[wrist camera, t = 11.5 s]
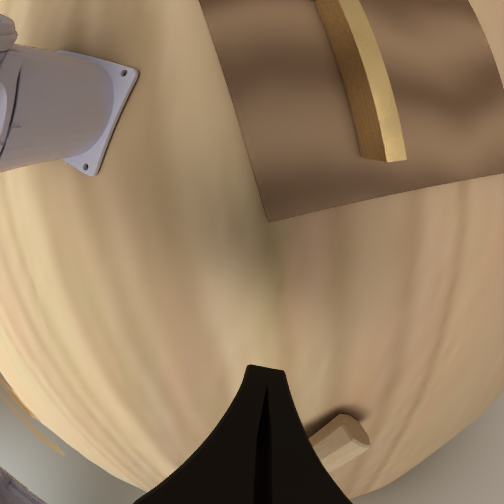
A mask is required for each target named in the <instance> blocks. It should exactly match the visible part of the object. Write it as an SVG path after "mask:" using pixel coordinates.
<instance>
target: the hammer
mask: <svg viewBox="0 0 504 504" xmlns="http://www.w3.org/2000/svg"><path fill="white" fill-rule="evenodd" d="M309 441H310V443H311V445H312V447H313V449H314V450H315V452H316V454H317V456H318V458H319V459H320V461H321V463H322V464H323V466H324V467H325V469H326V470H327V472H328V473H329V472H331V471H333V470H335V469H336V468H338V467H340V466H342V465H343V464H345V463H347V462H349V461H350V460H352V459H353V458H355V457H357V456H358V455H360V454H361V453H363V452H365V451H366V450H368V449H369V448H370V441H369V437H368V435H367V433H366V432H365V430H364V429H363V427H362V426H361V424H360V423H359V422H358V421H357V420H355V419H354V418H353V417H351V416H350V415H347V414H339V415H337V416H336V417H335V418H334V419H333V420H331V421H330V422H329V423H328V424H326V425H325V426H324V427H323V428H322V429H320V430H319V431H318V432H316V433H315V434H314V435H313V436H311V437H310V438H309Z"/></svg>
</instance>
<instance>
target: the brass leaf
mask: <svg viewBox="0 0 504 504" xmlns="http://www.w3.org/2000/svg"><path fill="white" fill-rule="evenodd" d="M315 5H316V7H317V10H318V12H319V15H320V17H321V19H322V22H323V24H324V27H325V30H326V32H327V35H328V38H329V40H330V43H331V46H332V49H333V52H334V55H335V58H336V61H337V64H338V67H339V70H340V73H341V76H342V80H343V83H344V87H345V90H346V94H347V97H348V101H349V105H350V109H351V113H352V117H353V121H354V125H355V129H356V134H357V138H358V143H359V148H360V153H361V158H367V159H372V160H377V161H382V162H394V161H401V160H407V157H406V151H405V145H404V140H403V135H402V130H401V125H400V120H399V116H398V111H397V107H396V103H395V99H394V95H393V92H392V88H391V84H390V81H389V77H388V74H387V71H386V68H385V65H384V62H383V59H382V56H381V53H380V50H379V47H378V44H377V42H376V39H375V36H374V34H373V31H372V29H371V26H370V24H369V21H368V19H367V17H366V14H365V12H364V10H363V8H362V6H361V3H360V1H359V0H316V1H315Z"/></svg>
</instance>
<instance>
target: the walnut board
mask: <svg viewBox="0 0 504 504" xmlns="http://www.w3.org/2000/svg"><path fill="white" fill-rule="evenodd" d="M359 1H360V3H361V6H362V8H363V10H364V12H365V14H366V17H367V19H368V21H369V24H370V26H371V29H372V31H373V34H374V36H375V39H376V42H377V44H378V47H379V50H380V53H381V56H382V59H383V62H384V65H385V68H386V71H387V74H388V77H389V81H390V84H391V88H392V92H393V95H394V99H395V103H396V107H397V111H398V116H399V120H400V125H401V130H402V135H403V140H404V145H405V151H406V157H407V160H401V161H394V162H382V161H377V160H372V159H367V158H361V153H360V148H359V143H358V138H357V134H356V129H355V125H354V121H353V117H352V113H351V109H350V105H349V101H348V97H347V94H346V90H345V87H344V83H343V80H342V76H341V73H340V70H339V67H338V64H337V61H336V58H335V55H334V52H333V49H332V46H331V43H330V40H329V38H328V35H327V32H326V30H325V27H324V24H323V22H322V19H321V17H320V15H319V12H318V10H317V7H316V5H315V1H311V0H199V2H200V5H201V8H202V11H203V13H204V16H205V19H206V22H207V25H208V28H209V31H210V34H211V37H212V40H213V43H214V46H215V49H216V52H217V55H218V58H219V61H220V64H221V67H222V70H223V74H224V77H225V80H226V83H227V86H228V89H229V92H230V96H231V99H232V102H233V105H234V108H235V112H236V115H237V118H238V121H239V125H240V128H241V131H242V135H243V138H244V141H245V145H246V148H247V151H248V155H249V158H250V161H251V165H252V168H253V172H254V175H255V179H256V182H257V185H258V189H259V192H260V196H261V199H262V203H263V206H264V210H265V214H266V217H267V221H268V222H272V221H277V220H281V219H285V218H289V217H293V216H298V215H302V214H306V213H310V212H315V211H319V210H323V209H328V208H332V207H337V206H341V205H345V204H350V203H355V202H359V201H364V200H368V199H373V198H378V197H382V196H387V195H392V194H397V193H401V192H406V191H411V190H416V189H421V188H426V187H431V186H436V185H441V184H447V183H452V182H457V181H462V180H468V179H473V178H479V177H485V176H490V175H496V174H502V173H504V89H503V85H502V82H501V78H500V75H499V72H498V69H497V66H496V63H495V60H494V57H493V54H492V52H491V49H490V46H489V44H488V41H487V39H486V37H485V34H484V32H483V30H482V27H481V25H480V23H479V21H478V19H477V17H476V15H475V13H474V11H473V9H472V7H471V5H470V3H469V1H468V0H359Z"/></svg>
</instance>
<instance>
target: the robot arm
mask: <svg viewBox="0 0 504 504" xmlns="http://www.w3.org/2000/svg"><path fill="white" fill-rule="evenodd" d="M17 36H18V34H17V31H16V30H15V23H14V21H13V20H12V19H10V18H8V17H6V16H4V15H1V14H0V172H4V171H8V170H12V169H16V168H20V167H24V166H28V165H33V164H37V163H42V162H47V161H52V160H57V159H61V160H62V161H64V162H66V163H67V164H69V165H71V166H72V167H74V168H76V169H78V170H79V171H81V172H83V173H84V174H86V175H88V176H90V177H92V176H95V175H97V173H98V171H99V168H100V165H101V162H102V159H103V156H104V153H105V151H106V148H107V145H108V143H109V140H110V137H111V135H112V132H113V130H114V127H115V125H116V123H117V120H118V118H119V116H120V113H121V111H122V109H123V107H124V104H125V102H126V100H127V98H128V96H129V94H130V92H131V90H132V88H133V86H134V84H135V82H136V80H137V78H138V71H137V70H136V69H133V68H130V67H127V66H124V65H120V64H117V63H114V62H110V61H107V60H103V59H99V58H95V57H91V56H87V55H83V54H79V53H74V52H70V51H65V50H57V51H56V52H53V51H48V50H44V49H39V48H34V47H29V46H23V45H18V44H14V42H15V41H16V39H17ZM126 71H127V75H126V76H124V73H125V72H126ZM87 164H88V169H87V167H86V166H87ZM0 504H47V503H46V502H44V501H43V500H41V499H40V498H39V497H37V496H36V495H34V494H33V493H32V492H30V491H29V490H28V489H27V488H26V487H25V486H24V485H23V484H21V483H20V482H19V481H18V480H16V479H15V478H14V477H13V476H11V475H10V474H9V473H8V472H7V471H5V470H4V469H3V468H1V467H0ZM133 504H352V502H351V501H350V500H349V499H348V498H347V497H346V496H345V495H344V493H343V492H342V491H341V489H340V488H339V487H338V486H337V484H336V483H335V482H334V480H333V479H332V478H331V476H330V475H329V473H328V472H327V470H326V469H325V467H324V466H323V464H322V463H321V461H320V459H319V458H318V456H317V454H316V452H315V450H314V449H313V447H312V445H311V443H310V441H309V439H308V437H307V434H306V432H305V430H304V428H303V426H302V423H301V421H300V418H299V416H298V413H297V410H296V408H295V405H294V402H293V399H292V396H291V393H290V390H289V386H288V382H287V379H286V374H285V372H284V371H283V370H277V369H272V368H267V367H261V366H256V365H251V364H250V365H248V366H247V368H246V371H245V374H244V378H243V381H242V384H241V386H240V388H239V390H238V392H237V394H236V396H235V398H234V400H233V401H232V403H231V405H230V407H229V408H228V410H227V411H226V413H225V414H224V416H223V417H222V419H221V420H220V422H219V423H218V424H217V426H216V427H215V429H214V430H213V431H212V432H211V434H210V435H209V436H208V437H207V439H206V440H205V441H204V442H203V443H202V444H201V446H200V447H199V448H198V449H197V450H196V451H195V452H194V453H193V454H192V455H191V456H190V457H189V458H188V459H187V460H186V461H185V462H184V463H183V464H182V465H181V466H180V467H179V468H178V469H177V470H175V471H174V472H173V473H172V474H171V475H170V476H169V477H167V478H166V479H165V480H164V481H163V482H161V483H160V484H159V485H157V486H156V487H155V488H153V489H152V490H150V491H149V492H148V493H146V494H145V495H143V496H142V497H140V498H139V499H137V500H136V501H135V502H134V503H133Z"/></svg>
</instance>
